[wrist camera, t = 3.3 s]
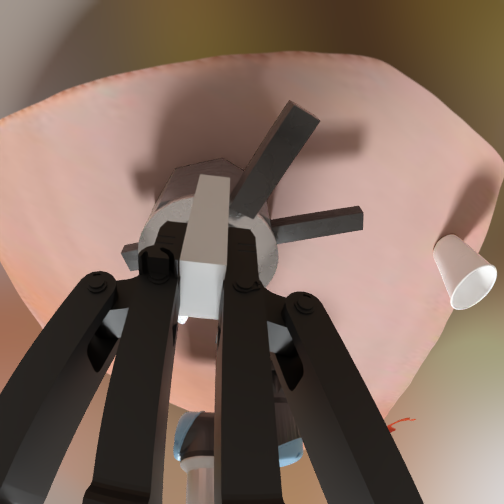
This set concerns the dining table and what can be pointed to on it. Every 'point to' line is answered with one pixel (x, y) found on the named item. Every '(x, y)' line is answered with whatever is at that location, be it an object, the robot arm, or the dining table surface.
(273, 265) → the lid
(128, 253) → the cooker pot
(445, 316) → the dining table surface
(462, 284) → the cup
